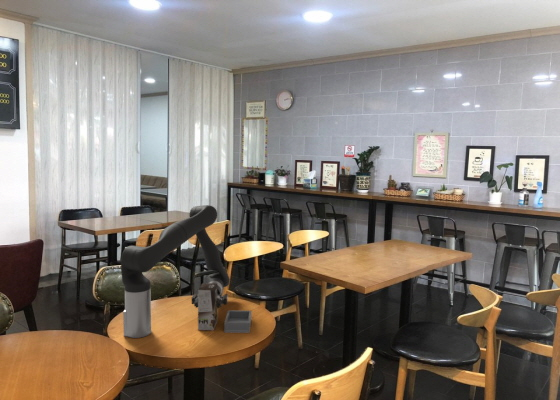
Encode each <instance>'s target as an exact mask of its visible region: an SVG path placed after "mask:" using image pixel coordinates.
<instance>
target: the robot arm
mask: <svg viewBox="0 0 560 400" xmlns="http://www.w3.org/2000/svg"><path fill="white" fill-rule="evenodd" d="M189 210H190V211H189V217H187V218H184V219H181V220H177V221H175V222H173V223H171V224H170V225H168V226H166V227H165V228H163V230H162V231H161V232H160V234H159V238H158V240H157V241H156V242H154V243H153V244H151V245H149V246H138V245H129V246H126V247H124V249H123V252H122V253H121V257H120V270H121V282H122V284H123V287H124V310H123V311H122V320H123V322H122V323H123V337H127V338H131V339H133V338H134V339H138V338H144V337H147V336H149V335H150V334H151V333H152V303H151V302H152V299H151V298H152V297H151V296H152V294H151V290H152V289H151V287H152V286H151V281H150V279H149V278H148V277H146V276H145V275H144V274H143V273H147V272H149V271H151V270H152V269H153V268H154V267H155V266H156V265H157V264H159V262H161V260H163V259H164V258H165V257H166V256H168V255H169V254H171V253H172V252H173V251H174V250H176V249H178V248H179V247H180V246H182V245H184V243H186V242H187V241H188V240H190V239H192V238H193V237H195V235H196V238H197V241H198V242H199V245H200V248H201V250H202V254H203V257H204V261H205V266H206V269H207V270H209V271H215V273H212V274H209V275H208V276H207V277H206V283H217V309H220V307H222V305H225V306H226V305H227V304H228V300H229V299H228V293H225V294H223V289H224V288H226V287H228V286H229V285H230V282H231V280H230V276H229V274H228V272H227V271H226V269H225V267H224V265H223V262H222V258H221V254H220V251H219V248H218V246H217V245H216V243H214V241H213V240H212V239H211V237H210V235H209V234H208V233H207V231H206V229H207V228H208V227H211V226H212V225H214V224H215V222H216V220H217V218H218V210H217V208H216V207H215V206H213V205H209V204H206V205H196V206H193V207H191V209H189ZM191 304H192V305H194V307H195V309H196V308H197V309H198V293H194V294H193V295H192V297H191Z"/></svg>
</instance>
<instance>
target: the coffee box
mask: <svg viewBox="0 0 560 400" xmlns="http://www.w3.org/2000/svg"><path fill="white" fill-rule="evenodd" d="M197 295H198V308H197V329H198V331H200V330H201V331H214V330H215V328H216V326H217V324H218V308H217V283H207V282H205V283H201V285H200V286H199V288H198V290H197Z"/></svg>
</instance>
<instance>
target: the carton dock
mask: <svg viewBox="0 0 560 400" xmlns="http://www.w3.org/2000/svg"><path fill="white" fill-rule="evenodd" d="M251 323H252V310H238V309H237V310H236V309H235V310H227V311H226V317H225V320H224V327H223V328H224V330H223V331H224V333H232V334H233V333H239V334H241V333H242V334H244V333H245V334H246V333H247V334H250V333H251V332H250V331H251V326H252V325H251Z"/></svg>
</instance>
